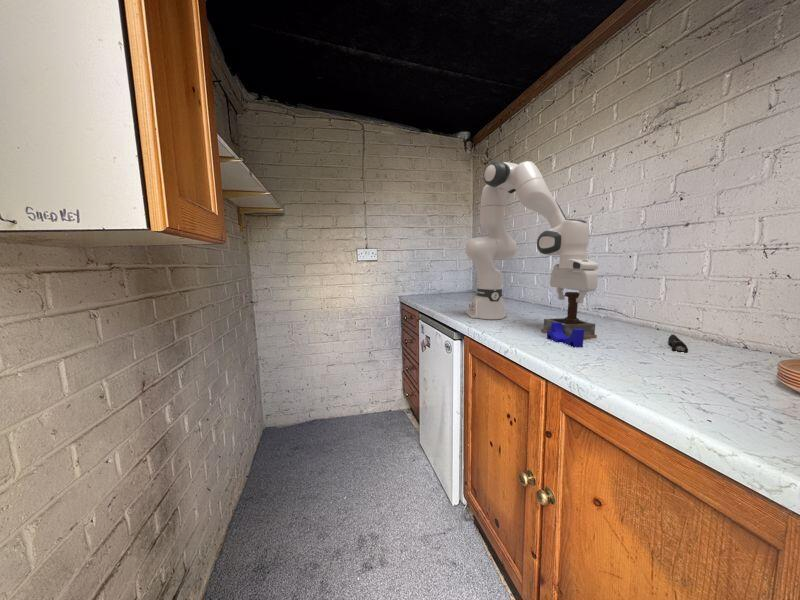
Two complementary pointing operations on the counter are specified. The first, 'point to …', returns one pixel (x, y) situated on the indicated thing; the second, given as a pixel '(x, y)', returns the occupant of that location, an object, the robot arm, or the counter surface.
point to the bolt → (572, 308)
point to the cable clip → (559, 336)
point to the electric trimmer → (677, 344)
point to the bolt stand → (572, 327)
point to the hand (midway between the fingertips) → (570, 301)
